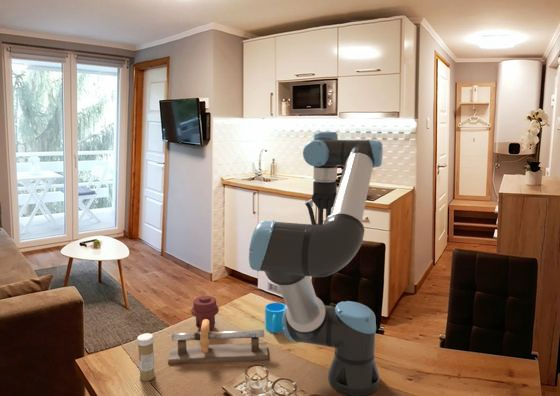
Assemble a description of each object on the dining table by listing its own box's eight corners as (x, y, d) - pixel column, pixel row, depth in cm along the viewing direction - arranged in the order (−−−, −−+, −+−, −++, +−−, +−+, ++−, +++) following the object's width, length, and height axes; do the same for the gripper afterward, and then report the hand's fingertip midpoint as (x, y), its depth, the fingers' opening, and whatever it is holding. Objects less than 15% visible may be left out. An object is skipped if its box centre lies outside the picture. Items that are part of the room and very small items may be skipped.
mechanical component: (196, 321, 168) (221, 323, 167) (188, 334, 158) (215, 335, 157) (195, 291, 166) (221, 292, 165) (187, 302, 156) (214, 303, 155)
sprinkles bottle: (141, 373, 134) (139, 333, 131) (156, 372, 134) (154, 332, 132) (138, 382, 129) (135, 340, 127) (153, 381, 130) (151, 339, 127)
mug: (266, 321, 168) (266, 302, 166) (287, 322, 167) (287, 303, 166) (262, 337, 156) (262, 316, 155) (284, 338, 155) (285, 317, 154)
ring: (208, 353, 140) (207, 330, 138) (200, 353, 139) (199, 330, 138) (210, 340, 147) (209, 319, 146) (202, 341, 147) (202, 319, 146)
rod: (263, 335, 146) (263, 328, 145) (264, 338, 143) (264, 331, 143) (173, 338, 143) (172, 331, 143) (171, 342, 141) (171, 335, 140)
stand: (267, 359, 142) (267, 342, 141) (168, 363, 139) (167, 347, 138) (266, 346, 150) (266, 331, 149) (172, 350, 147) (171, 334, 146)
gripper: (342, 178, 143) (340, 247, 147) (303, 179, 142) (302, 248, 146) (347, 181, 136) (345, 254, 140) (306, 182, 135) (305, 255, 139)
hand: (323, 251), depth 143 cm, fingers closed
